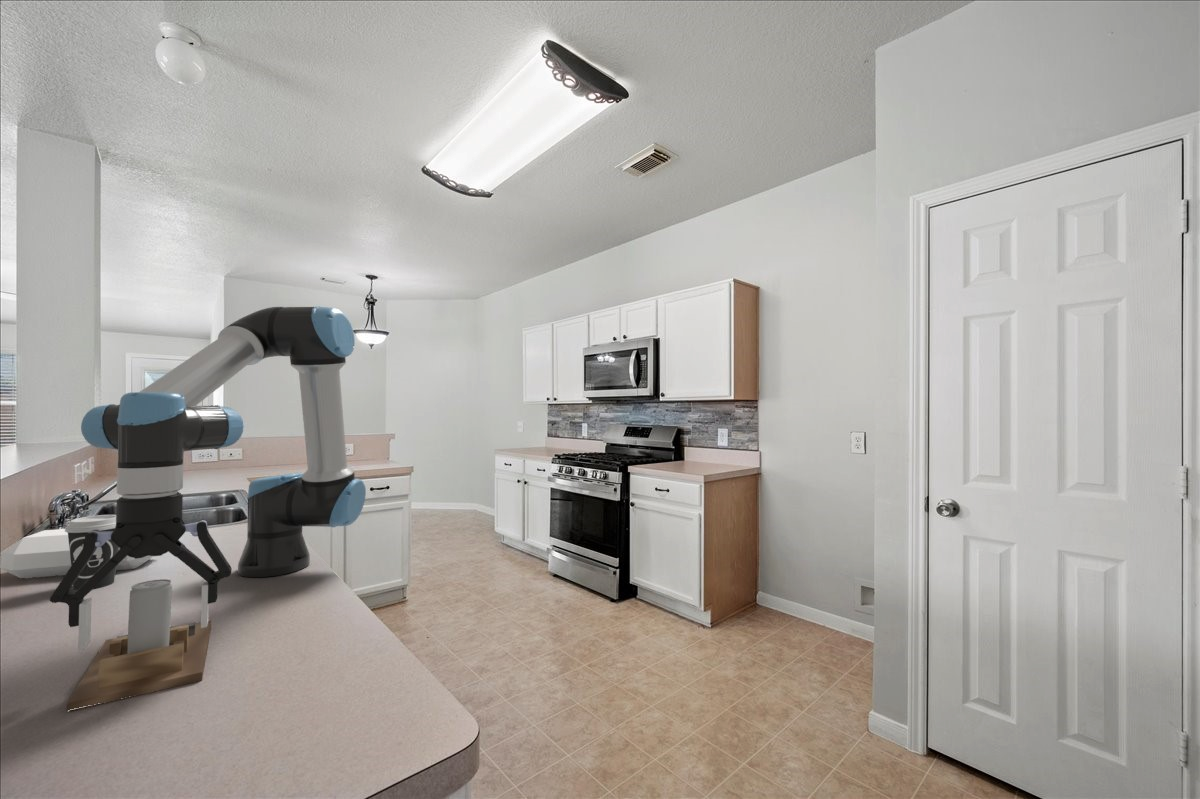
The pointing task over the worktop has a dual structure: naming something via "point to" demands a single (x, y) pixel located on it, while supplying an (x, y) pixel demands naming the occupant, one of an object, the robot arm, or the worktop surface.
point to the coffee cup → (102, 554)
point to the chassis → (143, 667)
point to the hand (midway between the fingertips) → (147, 635)
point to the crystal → (47, 556)
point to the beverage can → (149, 615)
